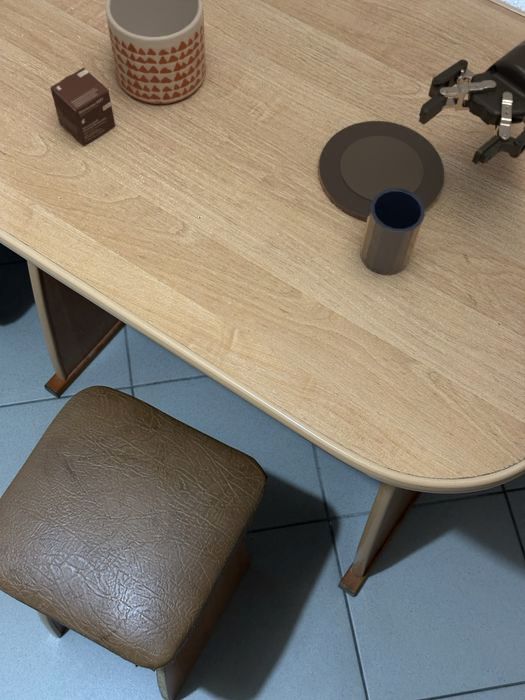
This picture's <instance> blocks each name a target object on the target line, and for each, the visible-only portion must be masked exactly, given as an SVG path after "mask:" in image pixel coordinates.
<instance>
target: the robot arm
mask: <svg viewBox="0 0 525 700" xmlns="http://www.w3.org/2000/svg"><path fill="white" fill-rule="evenodd" d="M468 66H469V62H468V60H466V59H459V60H458V61H457V62H455V63H454V64H452V65H450V66H449V67H448V68H446V69H444V70H442V71H441V72H440V73H439V74H437V75H434V77H432V80H431V82H430V83H431V84H430V86H429V90H428V93H427V95H428V97H429V99H428V100H427V101H425V102H424V103H423V104H422V106H421V108H420V111H419V115H418V117H419V119H418V122H419V123H420V124H421V125H425V124H427V123H429V122H430V121H431V120H432V119H434V118H435V117H436V116H437V115H439V114H440V113H441V112H442V111H443V109H454V110H455V111H468V112H469V113H470V114H471V115H473V116H475V117H478V118H479V119H480V120H481V121H482V122H483V123H484V124H486V125H487V126H493V136H492V137H491V138H489V140H487V141H486V142H485V143H484V144H482V145H481V146H480V147H478V149H476V151H475V152H474V155H473V157H472V159H471V162H472V163H473V164H474V165H476V166H478V165H479V164H482V165H486V164H488V163H489V162H490V161H491V160H492V159H493V158H494V157H496V156H497V155H498V154H500V153H503V152H504V153H508V155H509V157H510V158H512V159H517V158H519V157H520V156H521V155H522V154H523V153H524V152H525V39H523V40H522V41H520V43H518V44H517V45H515V47H513V48H512V49H510V50H509V51H508V52H507V53H505V54H504V55H503V56H501V57H500V58H499V59H498V60H496V61H495V62H494V63H493V64H491V65H490V66H489V67H488V68H487V69H486V70H485V71H483V72H481V73H476V74H475V72H473V71H472V70H470V69H469V68H468ZM466 95H467V99H465V97H466ZM521 123H523V124H524V125H523V127H522V130H523V131H521V133H520V134H518V135H517V136H516V137H513V136H511V125H516V124H517V125H518V124H521Z"/></svg>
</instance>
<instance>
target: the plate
mask: <svg viewBox="0 0 525 700" xmlns="http://www.w3.org/2000/svg"><path fill="white" fill-rule="evenodd" d="M318 177H319V182H320V185H321V188H322V189H323V192H324V194H325V195H326V196H327V198H328V199H329V200H330V202H331V203H333V205H334V206H336V207H337V208H338V209H339V210H341V211H342V212H343V213H345V214H347V215H349V216H350V217H352V218H354V219H357V220H359V221H363V222H366V223H367V218H368V214H369V210H370V206H371V203H372V201H373V199H374V197H375V196H376V195H377V194H378V193H380V192H381V191H383V190H386V189H390V188H401V189H405V190H407V191H410V192H412V193H413V194H415V195H416V196H417V197H418V198H419V199H420V200H421V202H422V204H423V205H424V210H425V213H426V212H428V210H430V209H432V207H433V206H434V205H435V203H436V202H437V200H438V199H439V197H440V195H441V192H442V189H443V186H444V181H445V167H444V163H443V161H442V158H441V156H440V154H439V152H438V150H437V149H436V147H435V146H434V145H433V144H432V143H431V142H430V141H429V140H428V139H427V138H425V136H423V135H422V134H420V133H419V132H418V131H416V130H414V129H412V128H410V127H408V126H405V125H403V124H400V123H396V122H392V121H386V120H385V121H384V120H368V121H360V122H356V123H353V124H351V125H348V126H346V127H344V128H342V129H340V130H339V131H337V132H336V133H334V134H333V135H332V136H331V137H330V138H329V139H328V140H327V142H326V143H325V145H324V147H322V150H321V152H320V156H319V160H318Z"/></svg>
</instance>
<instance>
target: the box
mask: <svg viewBox="0 0 525 700" xmlns="http://www.w3.org/2000/svg"><path fill="white" fill-rule="evenodd" d="M50 91H51V92H50V93H51V96H52V99H53V103H54V107H55V111H56V115H57V119H58V123H59V124H60V125H61V126H62V127H63V128H64V129H65V130H66V131H67V132H68V133H69V134H70V135H72V136H73V138H75V140H77V141H78V142H79V143H80V144H81V145H82V146H86V145H88V144H89V143H91V142H93V141H94V140H96V139H98V138H99V137H101V136H103V135H104V134H106V133H107V132H109V131H110V130H112V129H114V128H115V126H116V122H115V117H114V111H113V106H112V101H111V96H110V90H109V89H108V87H106V86H105V85H104V84H103V83H102V82H100V81H99V80H98V78H96V77H95V76H94V75H93V74H92V73H90V71H88V70H87V69H86V68H85V67H82V68H80V69H78V70H77V71H75V72H73V73H72V74H69V75H67V76H65V77H64V78H63V79H62V80H60V81H59V82H57V83H55V84H54V85H52V86H50Z"/></svg>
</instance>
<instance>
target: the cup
mask: <svg viewBox="0 0 525 700" xmlns="http://www.w3.org/2000/svg"><path fill="white" fill-rule="evenodd" d="M425 213H426V212H425V210H424V205H423V204H422V202H421V200H420V199H419V198H418V197H417V196H416V195H415V194H413V193H412V192H410V191H407V190H405V189H401V188H390V189H386V190H383V191H381V192H380V193H378V194H377V195H376V196H375V197H374V199H373V201H372V203H371V206H370V210H369V214H368V218H367V222H366V223H365V228H364V232H363V235H362V239H361V244H360V253H359V254H360V258H361V261H362V262H363V264H364V265H365V267H366V268H367V269H369V270H370V271H372V272H374V273H376V274H379V275H385V276H390V275H396V274H398V273H400V272H403V270H405V268H406V267H408V265H409V262H410V260H411V257H412V255H413V251H414V248H415V245H416V243H417V241H418V237H419V234H420V231H421V228H422V225H423V222H424V219H425V217H426V214H425Z"/></svg>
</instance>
